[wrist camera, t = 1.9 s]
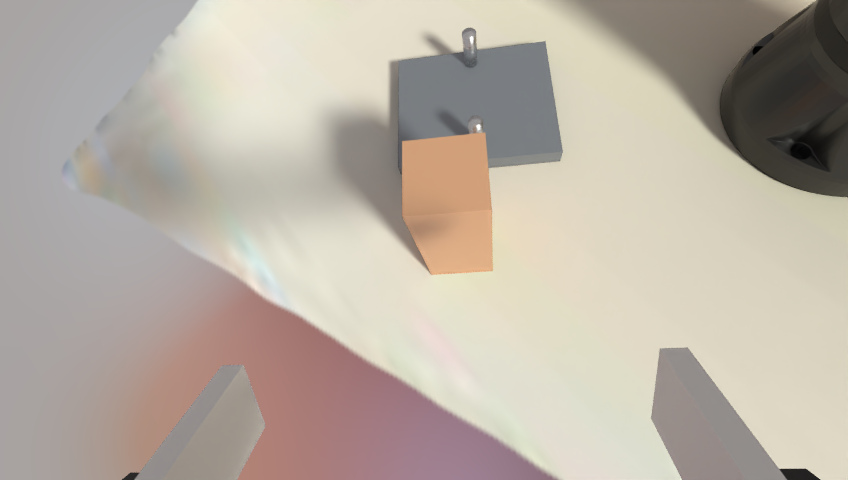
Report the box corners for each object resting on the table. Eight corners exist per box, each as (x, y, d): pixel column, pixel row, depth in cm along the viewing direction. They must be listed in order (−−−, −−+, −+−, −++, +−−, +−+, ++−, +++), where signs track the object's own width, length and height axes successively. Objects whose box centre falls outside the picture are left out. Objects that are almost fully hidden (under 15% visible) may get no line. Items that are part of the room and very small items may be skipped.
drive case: (488, 214, 36) (485, 132, 25) (492, 270, 34) (491, 209, 23) (430, 219, 37) (402, 141, 26) (431, 274, 35) (402, 216, 24)
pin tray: (543, 53, 41) (549, 9, 36) (560, 161, 37) (569, 126, 32) (401, 71, 43) (390, 32, 38) (401, 175, 39) (389, 145, 34)
